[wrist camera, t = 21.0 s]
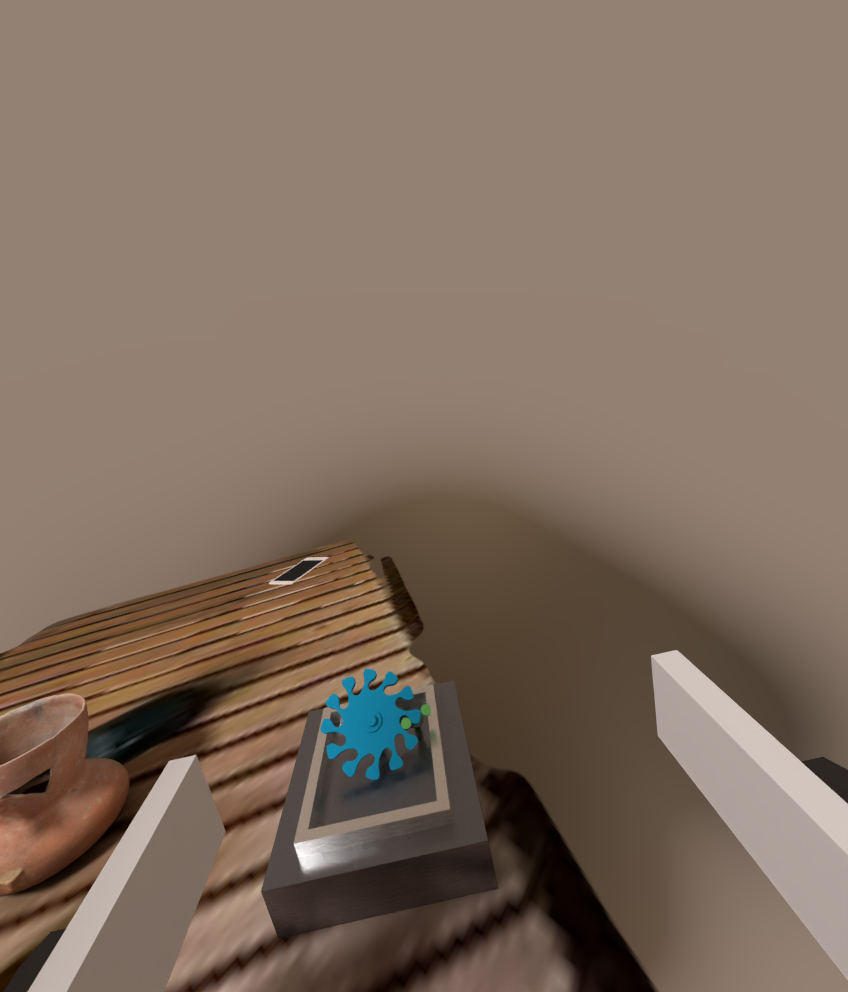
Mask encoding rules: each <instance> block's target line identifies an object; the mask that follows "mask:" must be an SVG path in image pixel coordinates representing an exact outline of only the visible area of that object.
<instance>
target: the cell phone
mask: <svg viewBox="0 0 848 992" xmlns="http://www.w3.org/2000/svg"><path fill="white" fill-rule="evenodd" d="M328 558H329V557H314V558H306V559H304V560H303V561H301V562H300V563H298V564H297V565H295V566H294V567H292V568H291V569H289V570H288V571H286V572H285V573H283V574H282V575H280V576H279V577H277V578H276V579H274V580H273V581H271V582H270V583H269V584H271V585H291V584H293V583H295V582H296V581H298V580H299V579H300V578H302V577H303V576H305V575H306V574H307V573H309V572H310V571H312V570H313V569H314V568H316V567H317V566H318V565H320V564H321V563H323V562H324V561H325V560H327V559H328Z"/></svg>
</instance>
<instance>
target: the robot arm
mask: <svg viewBox="0 0 848 992" xmlns="http://www.w3.org/2000/svg"><path fill="white" fill-rule="evenodd" d="M651 662H652V674H653V685H654V697H655V708H656V719H657V732H658V736H659V738H660V739H661V740H662V742H663V743H664V744H665V745H666V747H667V748H668V749H669V751H670V752H671V753H672V754H673V756H674V757H675V758H676V760H677V761H678V762H679V763H680V765H681V766H682V767H683V769H684V770H685V771H686V773H687V774H688V775H689V776H690V778H691V779H692V780H693V782H694V783H695V784H696V785H697V787H698V788H699V789H700V791H701V792H702V793H703V794H704V796H705V797H706V798H707V800H708V801H709V802H710V804H711V805H712V806H713V807H714V809H715V810H716V811H717V812H718V814H719V815H720V816H721V818H722V819H723V820H724V821H725V823H726V824H727V825H728V827H729V828H730V829H731V830H732V832H733V833H734V834H735V836H736V837H737V838H738V840H739V841H740V842H741V843H742V845H743V846H744V847H745V849H746V850H747V851H748V852H749V854H750V855H751V856H752V858H753V859H754V860H755V861H756V863H757V864H758V865H759V867H760V868H761V869H762V871H763V872H764V873H765V874H766V876H767V877H768V878H769V879H770V881H771V882H772V883H773V885H774V886H775V887H776V889H777V890H778V891H779V892H780V894H781V895H782V896H783V898H784V899H785V900H786V901H787V903H788V904H789V905H790V906H791V908H792V909H793V910H794V912H795V913H796V914H797V916H798V917H799V918H800V920H801V921H802V922H803V923H804V925H805V926H806V927H807V929H808V930H809V931H810V932H811V934H812V935H813V936H814V938H815V939H816V940H817V941H818V943H819V944H820V945H821V947H822V948H823V949H824V950H825V952H826V953H827V954H828V956H829V957H830V958H831V959H832V961H833V962H834V963H835V965H836V966H837V967H838V968H839V970H840V971H841V972H842V974H843V975H844V976H845V978H846V979H847V980H848V770H847V769H845V768H843V767H841V766H839V765H837V764H835V763H834V762H832V761H830V760H828V759H826V758H824V757H820V758H816V759H811V760H807V761H802V762H801V761H800V760H798V759H797V758H796V757H795V756H794V755H793V754H792V753H791V752H790V751H788V750H787V749H786V748H785V747H784V746H783V745H782V744H780V743H779V742H778V741H777V740H776V739H775V738H774V737H773V736H772V735H771V734H770V733H768V732H767V731H766V730H765V729H764V728H763V727H762V726H761V725H760V724H758V723H757V722H756V721H755V720H754V719H753V718H751V716H750V715H748V714H747V713H746V712H745V711H744V710H743V709H742V708H741V707H739V706H738V705H737V704H736V703H735V702H734V701H733V700H732V699H731V698H730V697H728V696H727V695H726V694H725V693H724V692H723V691H722V690H721V689H720V688H718V687H717V686H716V685H715V684H714V683H713V682H712V681H711V680H710V679H708V678H707V677H706V676H705V675H704V674H702V672H701V671H700V670H698V669H697V668H696V667H695V666H694V665H693V664H692V663H691V662H690V661H688V660H687V659H686V658H685V657H684V656H683V655H682V654H681V653H680V652H678V651H677V650H675V651H670V652H666V653H661V654H657V655H652V656H651ZM225 832H226V831H225V829H224V826H223V823H222V821H221V818H220V815H219V813H218V810H217V808H216V805H215V802H214V800H213V797H212V794H211V792H210V789H209V787H208V784H207V781H206V779H205V776H204V773H203V771H202V768H201V766H200V763H199V760H198V758H197V755H193V756H189V757H184V758H179V759H175V760H170V761H169V762H168V764H167V765H166V767H165V768H164V770H163V772H162V773H161V775H160V777H159V778H158V780H157V781H156V783H155V785H154V786H153V788H152V790H151V791H150V793H149V795H148V796H147V798H146V799H145V801H144V803H143V804H142V806H141V808H140V809H139V811H138V812H137V814H136V816H135V817H134V819H133V821H132V822H131V824H130V826H129V827H128V829H127V830H126V832H125V834H124V835H123V837H122V839H121V840H120V842H119V843H118V845H117V847H116V848H115V850H114V852H113V853H112V855H111V857H110V858H109V860H108V861H107V863H106V865H105V866H104V868H103V870H102V871H101V873H100V874H99V876H98V878H97V879H96V881H95V883H94V884H93V886H92V887H91V889H90V891H89V892H88V894H87V896H86V897H85V899H84V901H83V902H82V904H81V905H80V907H79V909H78V910H77V912H76V914H75V915H74V917H73V918H72V920H71V922H70V923H69V925H68V927H67V928H66V929H62V930H58V931H54V932H51V933H50V934H49V935H48V936H47V937H46V938H45V939H44V940H43V941H42V942H41V944H40V945H39V946H38V947H37V948H36V949H35V950H34V951H33V952H32V954H31V955H30V956H29V957H28V958H27V959H26V960H25V961H24V962H23V963H22V965H21V966H20V967H19V969H18V970H17V972H16V973H15V975H14V976H13V978H12V980H11V981H10V983H9V984H8V986H7V987H6V989H5V990H4V992H164V991H165V988H166V985H167V983H168V980H169V978H170V975H171V972H172V970H173V967H174V965H175V962H176V959H177V957H178V954H179V952H180V949H181V946H182V944H183V941H184V939H185V936H186V933H187V931H188V928H189V926H190V923H191V920H192V918H193V915H194V913H195V910H196V907H197V905H198V902H199V900H200V897H201V894H202V892H203V889H204V887H205V884H206V881H207V879H208V876H209V874H210V871H211V868H212V866H213V863H214V861H215V858H216V855H217V853H218V850H219V848H220V845H221V842H222V840H223V837H224V835H225Z"/></svg>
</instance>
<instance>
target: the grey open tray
mask: <svg viewBox="0 0 848 992" xmlns="http://www.w3.org/2000/svg"><path fill="white" fill-rule="evenodd" d="M412 692H413V699H412V700H411V701H406V700H404V699H402V698H399V699H397V700H396V703H395V705H396V707H398V708H400V709H402V710H405V711H410V710H414V709H418V710H420V711H421V707H422V706H423V705H424V704H428V705H429V706H430V707H431V713H430V715H429V716H428V717H424V721H423V724H422V725H421V726H420V727H418V728H410V729H409V730H405V731H406V732H407V733H409V734H411V735H414V736H416V737H417V739H418V743H417V744H416V746H415V747H414V748H413V749H412V750H408V749H407V747H406V745H405V737H404V736H403V735H401V734H399V735H397V736H396V737H395V749H396V752H397V754H398V755H399V757H400V758H401V759H402V761H403V766H402V767H401V768H399V769H397V770H391V769H390V767H389V762H390V759H391V757H392V751H391V749H388V748H387V749H384V751H383V752H382V755H381V757H380V761H379V770H380V777H379V779H378V780H372V779H369V778H367V777H366V771H367V769H368V768H369V767H370V766H371V765H372V764H373V763H374V761H375V757H374V755H373V754H368V755H367V756H365V757H364V758H363V759H362V760H361V761H360V763H359V765H358V767H357V770H356V773H355V774H354V776H352V777H349V776H348V775H347V774H346V773H345V772H344V771H343V769H342V766H343V764H344V763H345V762H347V761H353V760H355V759H356V758H357V756H358V752H357V750H356V749H349V750H345V751H343V752H342V753H340V754H339V755H338V756H337V758H335V759H329V758H328V755H327V745H329V744H332V743H333V744H336V745H338V746H343V745H344V744H345V743H346V737H345V736H344V735H342V734H340V733H337V732H332V733H329V734H324V733H322V732H321V731H320V730H321V725H322V722H323V720H324V719H330V720H331V721H332V722H333V724H334V726H335V727H340V726H341V725H342V724H343V719H342V717H341V715H340V713H339V712H338V711H337V710H335V709H331V708H329V707H327V708H324V709H319V710H315V711H310V712H309V714H308V718H307V722H306V725H305V729H304V733H303V737H302V740H301V744H300V748H299V752H298V755H297V759H296V763H295V767H294V770H293V774H292V778H291V782H290V785H289V789H288V793H287V797H286V800H285V804H284V808H283V812H282V815H281V819H280V823H279V827H278V830H277V834H276V838H275V842H274V845H273V849H272V853H271V857H270V860H269V864H268V868H267V872H266V875H265V879H264V883H263V887H262V890H261V892H262V895H263V898H264V900H265V903H266V906H267V909H268V911H269V914H270V917H271V919H272V922H273V925H274V927H275V930H276V933H277V935H278V938H282V937H286V936H290V935H295V934H299V933H304V932H308V931H312V930H317V929H321V928H326V927H330V926H334V925H339V924H343V923H348V922H352V921H356V920H361V919H365V918H370V917H374V916H378V915H383V914H387V913H391V912H396V911H400V910H405V909H409V908H413V907H418V906H422V905H427V904H431V903H435V902H440V901H444V900H449V899H453V898H457V897H462V896H466V895H471V894H475V893H479V892H484V891H488V890H492V889H497V888H498V887H497V882H496V877H495V872H494V867H493V862H492V858H491V853H490V848H489V843H488V838H487V834H486V829H485V824H484V819H483V815H482V810H481V805H480V801H479V796H478V791H477V786H476V782H475V777H474V772H473V768H472V763H471V758H470V753H469V749H468V744H467V740H466V735H465V731H464V725H463V720H462V716H461V711H460V707H459V702H458V697H457V692H456V687H455V683H454V680H453V681H449V682H444V683H439V684H435V685H429V686H424V687H420V688H415V689H412ZM397 693H399V692H396V693H392V694H387V695H394V694H397ZM348 705H349V703H346V704H341V705H340V708H341V709H345V708H347V707H348Z"/></svg>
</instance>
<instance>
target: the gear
mask: <svg viewBox="0 0 848 992" xmlns="http://www.w3.org/2000/svg"><path fill="white" fill-rule="evenodd" d="M376 676H377V674H376V671H374V670H372V669H365V671H364V680H365V681H364V687H363V689H362V691H361V693H360V694H359V695H357V696H355V695H353V693H352V691H353V689H354V687H355V684H356V682H355V679H354V678H353V677H348V678H345V679H343V680H342V685H343V687H344V688H345V689H346V690H347V692H348V696H349V705H348V707H347V708H345V709H341V708H340V699H339V697H338V696H337V695H336V694H333V695H331V696H330V697H329V699H328V700H327V701H326V705H327V706H328V707H329V708H331V709H335V710H337V711H338V712H339V713H340V715H341V717H342V719H343V724H342V725H341V726H340V727H335V726H334V724H333V722H332V721H331V720H330V719H324V720H323V722H322V725H321V730H320V731H321V732H322V733H324V734H329V733H332V732H337V733H340V734H342V735H344V736H345V737H346V743H345V744H344V745H343V746H338V745H336V744H333V743H332V744H329V745H327V755H328V758H329V759H335V758H337V756H338V755H339V754H340V753H342V752H343V751H345V750H349V749H356V750H357V752H358V756H357V758H356V759H355V760H353V761H347V762H345V763H344V764H343V766H342V769H343V771H344V772H345V773H346V774H347V775H348V776H349V777H352V776H354V774H355V773H356V770H357V767H358V765H359V763H360V761H361V760H362V759H363V758H364V757H365V756H367V755H368V754H373V755H374V757H375V761H374V763H373V764H372V765H371V766H370V767H369V768H368V769H367V771H366V777H367V778H369V779H372V780H378V779H379V777H380V770H379V761H380V757H381V755H382V752H383V751H384V749H387V748H388V749H391V751H392V757H391V759H390V762H389V767H390V769H391V770H397V769H399V768H401V767H402V766H403V761H402V759H401V758H400V757H399V755H398V754H397V752H396V749H395V737H396V736H397V735H399V734H401V735H403V736H404V737H405V745H406V747H407V749H408V750H412V749H413V748H414V747H415V746H416V744H417V743H418V739H417V737H416V736H414V735H411V734H409V733H407V732H406V731H405V730H409V729H410V728H418V727H420V726H421V725H422V724H423V721H424V717H428V716H429V715H430V713H431V707H430V706H429V705H428V704H424V705H423V706H422V707H421V711H420V710H418V709H414V710H410V711H405V710H402V709H400V708H398V707H396V705H395V703H396V700H397V699H399V698H402V699H404V700H406V701H411V700H412V699H413V692H412V689H411V687H410V686H406V687H405V688H404V689H403V690H402V691H401V692H399V693H397V694H394V695H386V694H385V693H384V689H385V688H386V687H387V686H393V685H395V684H396V683H397V681H398V678H397V677H396V676H395V674H393V673H392V672H391V671H389V672H388V673H387V674H386V676H385V679H384V682H383V683H382V685H381V686H380V687H378V688H377V689H376V690H374V691H371V690H369V684H370V683H371V682H372V681H374V680H375V679H376Z"/></svg>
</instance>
